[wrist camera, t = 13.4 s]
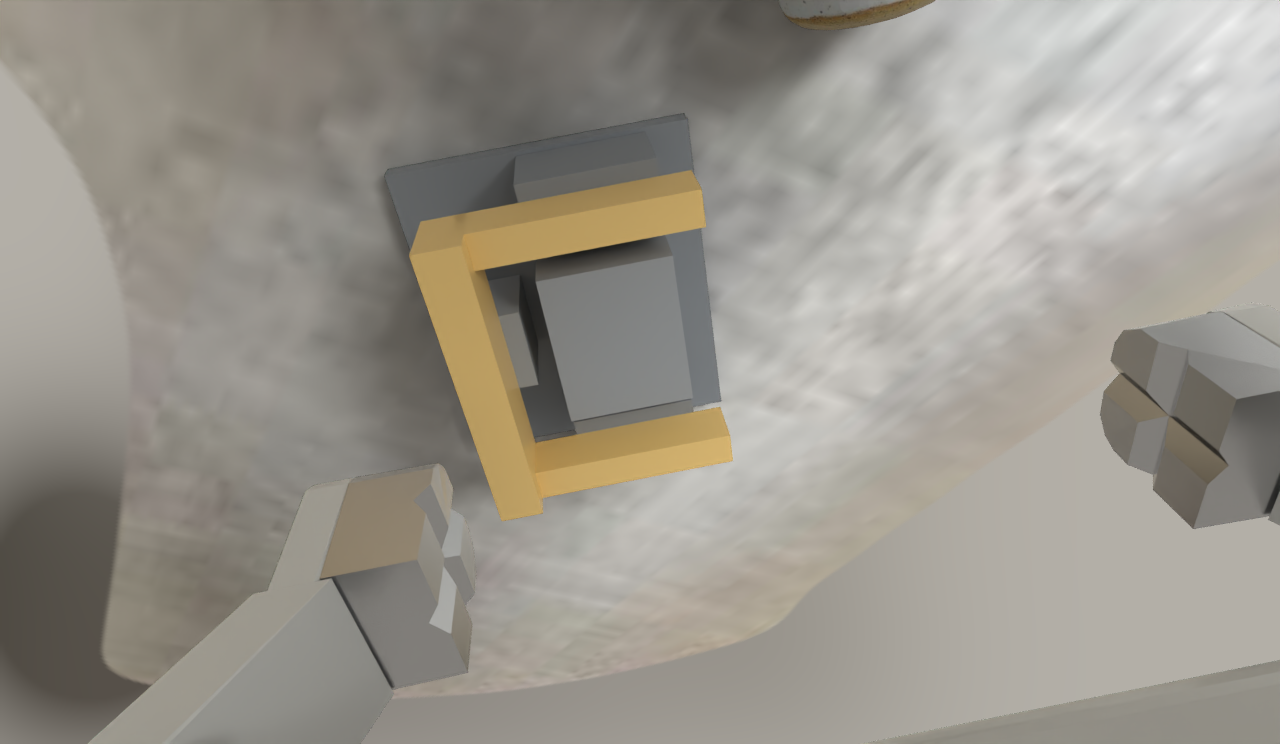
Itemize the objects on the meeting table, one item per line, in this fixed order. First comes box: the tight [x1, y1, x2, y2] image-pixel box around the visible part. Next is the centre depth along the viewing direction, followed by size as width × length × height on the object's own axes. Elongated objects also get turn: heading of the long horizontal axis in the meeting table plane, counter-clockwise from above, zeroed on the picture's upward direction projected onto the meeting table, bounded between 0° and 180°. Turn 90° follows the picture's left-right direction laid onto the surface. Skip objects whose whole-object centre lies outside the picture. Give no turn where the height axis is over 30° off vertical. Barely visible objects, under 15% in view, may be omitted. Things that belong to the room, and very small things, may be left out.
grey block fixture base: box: [384, 113, 721, 438], centre depth 38 cm, size 14×16×6 cm
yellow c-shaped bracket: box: [409, 170, 733, 521], centre depth 35 cm, size 12×14×4 cm
